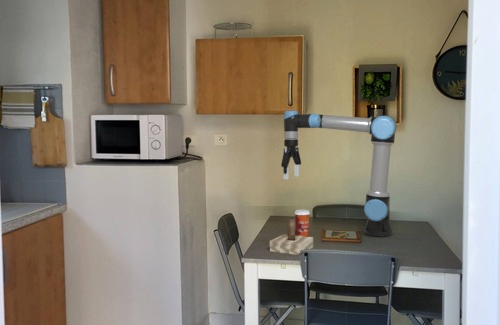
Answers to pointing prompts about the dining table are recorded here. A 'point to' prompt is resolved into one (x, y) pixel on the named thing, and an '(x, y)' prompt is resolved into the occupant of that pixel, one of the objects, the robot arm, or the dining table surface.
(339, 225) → the dining table surface
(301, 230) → the coffee cup
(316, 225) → the dining table surface
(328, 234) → the dining table surface
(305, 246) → the maple block
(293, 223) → the walnut peg
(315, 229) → the dining table surface
